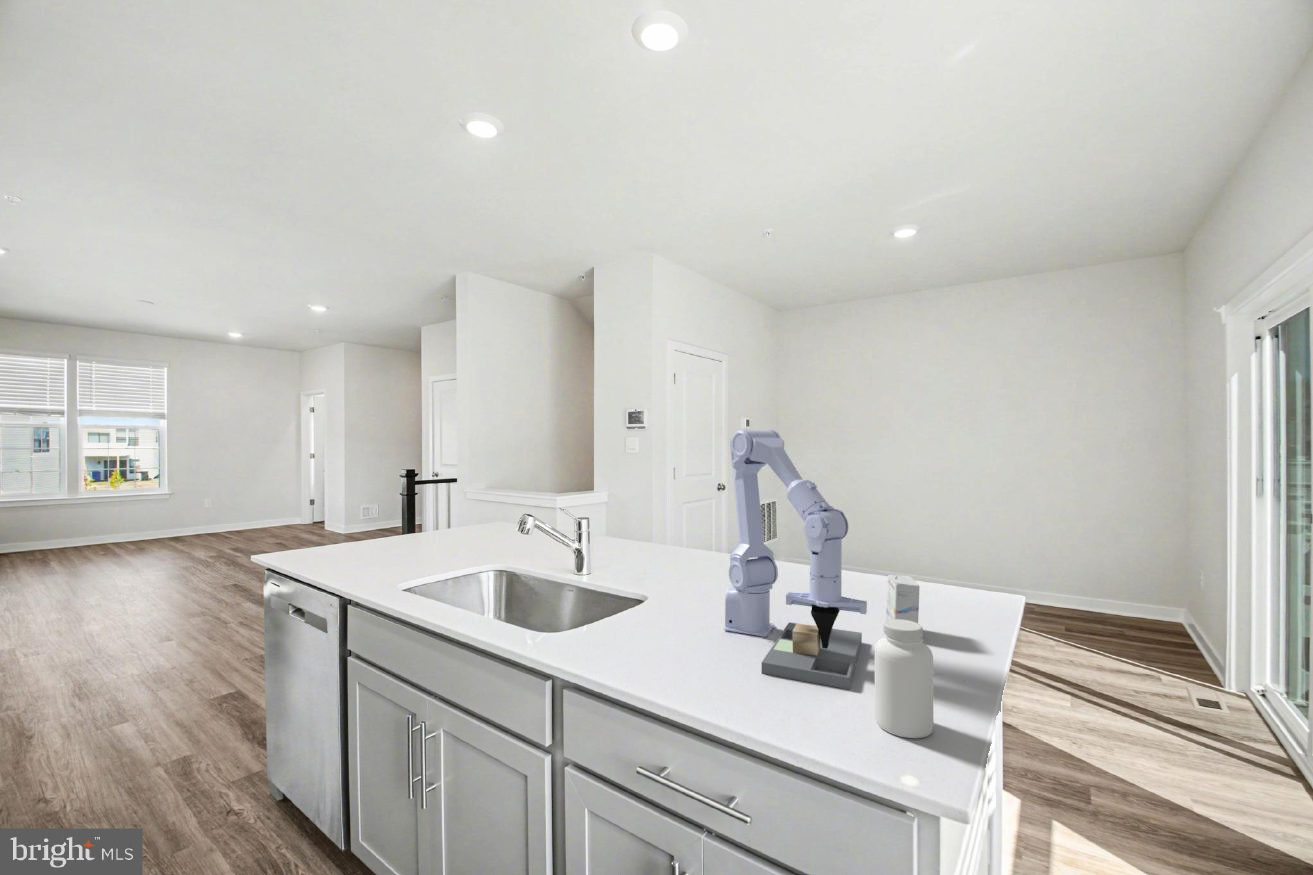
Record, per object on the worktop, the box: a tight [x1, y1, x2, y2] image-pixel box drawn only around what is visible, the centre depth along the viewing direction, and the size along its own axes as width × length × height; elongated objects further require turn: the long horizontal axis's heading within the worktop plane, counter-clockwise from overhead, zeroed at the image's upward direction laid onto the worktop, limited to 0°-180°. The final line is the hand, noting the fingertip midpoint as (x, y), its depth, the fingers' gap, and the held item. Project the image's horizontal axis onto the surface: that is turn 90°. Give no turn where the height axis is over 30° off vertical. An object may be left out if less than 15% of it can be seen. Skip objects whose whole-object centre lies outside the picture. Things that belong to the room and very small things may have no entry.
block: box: [792, 623, 821, 656], centre depth 106 cm, size 4×4×4 cm
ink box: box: [885, 573, 920, 624], centre depth 122 cm, size 9×5×12 cm, turn 168°
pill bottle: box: [874, 619, 934, 739], centre depth 83 cm, size 8×8×15 cm
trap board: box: [761, 622, 863, 690], centre depth 109 cm, size 15×24×2 cm, turn 155°
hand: (825, 646), depth 106 cm, fingers closed
